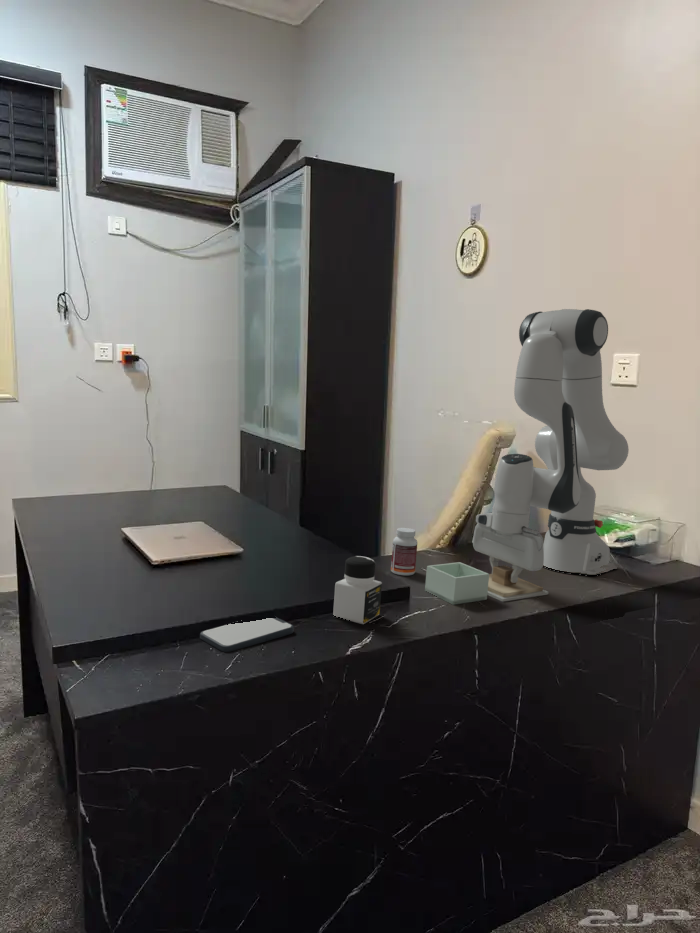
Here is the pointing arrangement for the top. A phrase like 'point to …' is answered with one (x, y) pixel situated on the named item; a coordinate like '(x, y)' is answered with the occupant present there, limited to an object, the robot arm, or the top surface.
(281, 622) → the phone case
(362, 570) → the medicine bottle
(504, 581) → the lid
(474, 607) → the top surface
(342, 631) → the top surface
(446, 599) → the pale green storage bin
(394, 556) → the pill bottle
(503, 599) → the mat
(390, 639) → the top surface
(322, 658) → the top surface
